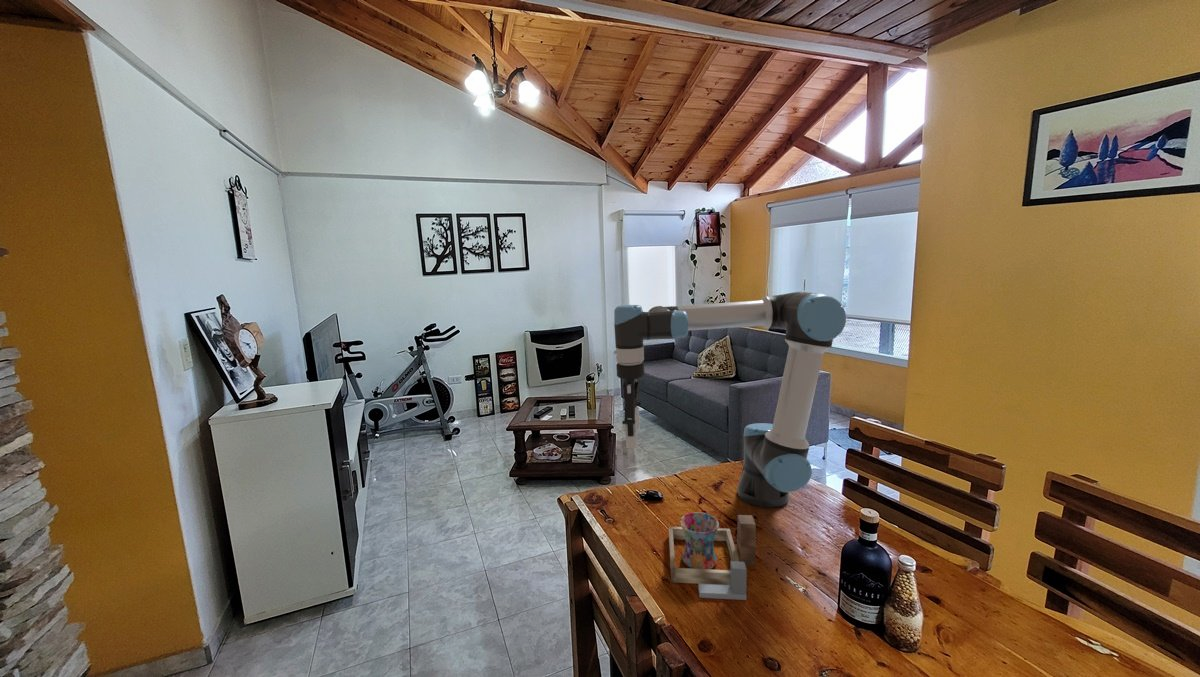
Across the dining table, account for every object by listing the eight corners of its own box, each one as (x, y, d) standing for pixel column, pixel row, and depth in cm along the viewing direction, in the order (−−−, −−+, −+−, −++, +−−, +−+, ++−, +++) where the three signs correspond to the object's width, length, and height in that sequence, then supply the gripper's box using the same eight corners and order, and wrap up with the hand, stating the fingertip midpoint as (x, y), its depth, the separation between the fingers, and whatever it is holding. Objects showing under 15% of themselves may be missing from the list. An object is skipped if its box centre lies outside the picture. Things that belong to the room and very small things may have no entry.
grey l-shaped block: (743, 590, 101) (744, 561, 100) (746, 600, 98) (746, 569, 97) (698, 588, 102) (698, 559, 101) (699, 597, 99) (699, 567, 98)
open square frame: (745, 539, 119) (746, 500, 118) (761, 586, 102) (762, 541, 100) (668, 536, 122) (668, 498, 120) (671, 582, 104) (670, 538, 102)
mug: (705, 579, 105) (705, 537, 103) (672, 562, 111) (672, 523, 109) (731, 555, 113) (731, 516, 111) (699, 541, 119) (699, 503, 118)
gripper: (620, 354, 134) (623, 422, 137) (610, 373, 110) (614, 455, 113) (645, 353, 133) (648, 422, 136) (641, 372, 109) (644, 455, 112)
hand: (633, 437), depth 125 cm, fingers open, 13 cm apart
